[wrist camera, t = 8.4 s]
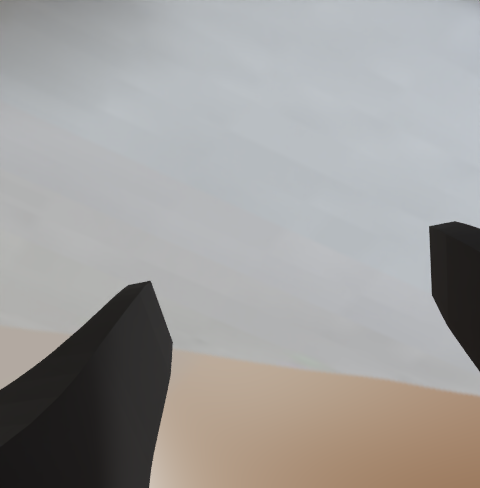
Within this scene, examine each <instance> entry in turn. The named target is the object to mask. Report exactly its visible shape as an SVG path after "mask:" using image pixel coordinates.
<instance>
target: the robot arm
mask: <svg viewBox="0 0 480 488" xmlns="http://www.w3.org/2000/svg"><path fill="white" fill-rule="evenodd" d="M429 233H430V257H431V282H432V296H433V298H434V300H435V302H436V304H437V306H438V308H439V310H440V312H441V314H442V316H443V318H444V320H445V322H446V324H447V326H448V327H449V329H450V330H451V332H452V333H453V335H454V336H455V337H456V339H457V340H458V342H459V343H460V345H461V346H462V347H463V349H464V350H465V352H466V353H467V354H468V356H469V357H470V359H471V360H472V361H473V363H474V364H475V366H476V367H477V368H478V370H479V371H480V229H479V228H476V227H473V226H470V225H467V224H463V223H459V222H455V221H454V222H449V223H444V224H439V225H434V226H429ZM172 344H173V342H172V339H171V336H170V333H169V331H168V328H167V325H166V322H165V320H164V317H163V314H162V311H161V308H160V306H159V303H158V300H157V297H156V294H155V292H154V289H153V286H152V283H151V281H147V282H142V283H137V284H132V285H128V286H127V287H125V288H124V289H123V290H121V291H120V292H119V293H118V294H117V295H116V296H115V297H113V298H112V299H111V300H110V301H109V302H108V303H107V304H106V305H105V306H104V307H103V308H102V309H101V310H100V311H98V312H97V313H96V314H95V315H94V316H93V317H92V318H91V319H90V320H89V321H88V322H87V323H86V324H84V325H83V326H82V327H81V328H80V329H79V330H78V331H77V332H75V333H74V334H73V335H72V336H71V337H70V338H69V339H67V340H66V341H65V342H64V343H63V344H61V345H60V347H58V348H57V349H56V350H55V351H53V352H52V353H51V354H50V355H48V356H47V357H46V358H45V359H43V360H42V361H41V362H40V363H38V364H37V365H36V366H34V367H33V368H32V369H30V370H29V371H27V372H26V373H25V374H23V375H22V376H20V377H19V378H18V379H16V380H15V381H13V382H12V383H10V384H9V385H7V386H6V387H4V388H3V389H1V390H0V488H149V483H150V473H151V467H152V461H153V455H154V450H155V444H156V441H157V436H158V431H159V426H160V422H161V418H162V413H163V408H164V404H165V399H166V394H167V390H168V384H169V380H170V374H171V362H172Z"/></svg>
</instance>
